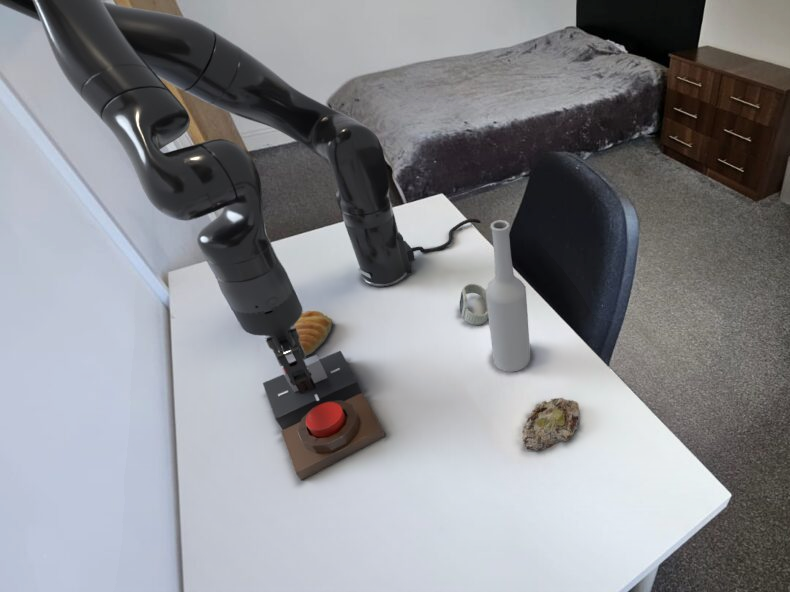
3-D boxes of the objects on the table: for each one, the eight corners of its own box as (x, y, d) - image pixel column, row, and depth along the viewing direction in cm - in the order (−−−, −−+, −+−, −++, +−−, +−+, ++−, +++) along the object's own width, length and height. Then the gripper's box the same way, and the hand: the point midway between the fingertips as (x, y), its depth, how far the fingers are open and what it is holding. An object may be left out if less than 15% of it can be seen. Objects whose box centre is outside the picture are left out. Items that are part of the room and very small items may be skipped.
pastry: (321, 358, 83) (314, 343, 81) (281, 361, 82) (272, 346, 80) (335, 322, 90) (329, 307, 88) (298, 324, 89) (291, 309, 87)
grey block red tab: (324, 371, 77) (315, 353, 74) (327, 377, 76) (318, 359, 73) (291, 386, 75) (281, 367, 72) (294, 392, 74) (283, 374, 71)
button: (340, 404, 72) (336, 396, 70) (350, 426, 69) (346, 418, 68) (306, 420, 69) (301, 412, 68) (315, 443, 66) (311, 435, 65)
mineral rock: (552, 382, 78) (587, 401, 73) (558, 401, 80) (592, 420, 75) (503, 424, 72) (537, 447, 67) (511, 443, 74) (545, 467, 69)
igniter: (365, 399, 77) (359, 384, 74) (385, 436, 72) (378, 420, 69) (285, 438, 71) (275, 423, 68) (300, 480, 66) (290, 465, 63)
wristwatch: (458, 298, 97) (455, 279, 93) (489, 294, 98) (487, 275, 95) (462, 328, 90) (459, 309, 87) (495, 323, 92) (493, 304, 88)
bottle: (518, 339, 88) (509, 208, 70) (537, 361, 84) (531, 228, 66) (487, 354, 85) (468, 220, 67) (504, 377, 81) (489, 242, 63)
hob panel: (345, 360, 83) (339, 348, 81) (362, 394, 78) (357, 382, 75) (269, 393, 77) (261, 380, 75) (283, 432, 72) (275, 419, 70)
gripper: (219, 275, 65) (264, 355, 76) (237, 334, 57) (285, 415, 67) (279, 258, 69) (314, 336, 79) (304, 311, 61) (340, 391, 71)
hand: (301, 372), depth 73 cm, fingers open, 8 cm apart
